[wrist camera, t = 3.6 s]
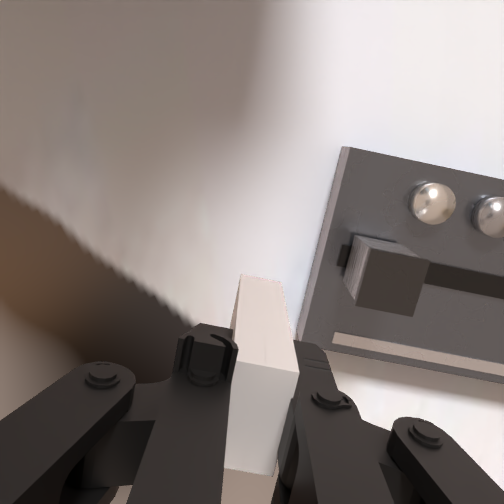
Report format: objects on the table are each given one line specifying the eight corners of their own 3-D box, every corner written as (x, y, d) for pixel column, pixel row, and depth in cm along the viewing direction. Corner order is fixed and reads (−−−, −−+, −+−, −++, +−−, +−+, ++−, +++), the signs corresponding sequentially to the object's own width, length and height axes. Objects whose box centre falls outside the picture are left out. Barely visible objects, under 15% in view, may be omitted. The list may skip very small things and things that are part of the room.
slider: (340, 282, 28) (355, 305, 24) (353, 233, 27) (371, 249, 23) (390, 291, 28) (412, 317, 24) (404, 243, 27) (430, 261, 23)
